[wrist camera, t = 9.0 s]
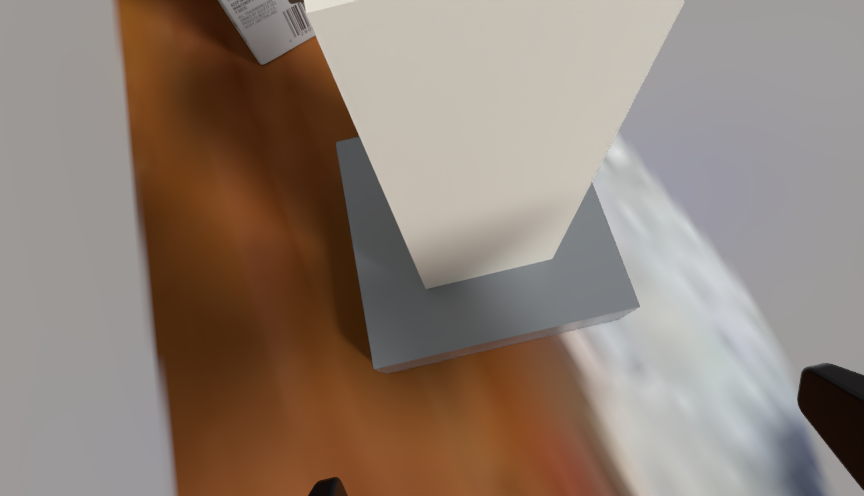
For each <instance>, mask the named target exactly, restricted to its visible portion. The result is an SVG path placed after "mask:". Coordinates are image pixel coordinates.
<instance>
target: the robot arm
mask: <svg viewBox="0 0 864 496" xmlns="http://www.w3.org/2000/svg"><path fill="white" fill-rule="evenodd" d="M797 401H798V405H799V408H800V410H801V412H802V413H803V415H804V416H805V417H806V418H807V420H808V421H809V422H810V424H811V425H812V426H813V427H814V429H815V430H816V431H817V432H818V434H819V435H820V436H821V438H822V439H823V440H824V441H825V443H826V444H827V445H828V446H829V448H830V449H831V450H832V452H833V453H834V454H835V455H836V457H837V458H838V459H839V460H840V462H841V463H842V464H843V465H844V467H845V468H846V469H847V471H848V472H849V473H850V474H851V476H852V477H853V478H854V479H855V481H856V482H857V483H858V484H859V485H860V487H861V488H862V489H863V490H864V375H862V374H859V373H856V372H853V371H850V370H847V369H844V368H842V367H839V366H836V365H833V364H829V363H823V364H818V365H814V366H809V367H806V368H804V369H803V371H802V373H801V378H800V384H799V390H798V397H797ZM308 496H348V495H347V493H346V491H345V489H344V486H343V484H342V482H341V480H340V479H339V478H338V477H333V478H329V479H324V480H320V481H318V482H317V483H316V484H315V485H314V487H313V489H312V490H311V492H310V493H309V495H308Z"/></svg>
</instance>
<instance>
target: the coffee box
mask: <svg viewBox="0 0 864 496" xmlns="http://www.w3.org/2000/svg"><path fill="white" fill-rule="evenodd" d="M217 1H218V2H219V4H220V5H221V7H222V8H223V10H224V11H225V13H226V14H227V16H228V17H229V19H230V20H231V22H232V23H233V25H234V26H235V28H236V29H237V31H238V32H239V34H240V35H241V37H242V38H243V40H244V41H245V43H246V44H247V46H248V47H249V49H250V50H251V52H252V53H253V55H254V56H255V58H256V59H257V61H258V62H259V63H260V64H261V65H264V64H266V63H268V62H270V61H272V60H274V59H275V58H277V57H279V56H281V55H282V54H284V53H286V52H287V51H289V50H291V49H293V48H294V47H296V46H298V45H299V44H301V43H303V42H305V41H306V40H308V39H310V38H312V37H313V36H315V33H314V30H313V28H312V26H311V24H310V21H309V19H308V17H307V14H306V10H305V4H304V0H217Z"/></svg>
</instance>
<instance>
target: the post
mask: <svg viewBox="0 0 864 496" xmlns="http://www.w3.org/2000/svg"><path fill="white" fill-rule="evenodd" d="M684 2H685V0H304V4H305V10H306V14H307V17H308V19H309V21H310V24H311V26H312V28H313V30H314V33H315V35H316V37H317V40H318V42H319V44H320V47H321V49H322V51H323V54H324V56H325V58H326V60H327V63H328V65H329V67H330V70H331V72H332V74H333V77H334V79H335V81H336V84H337V86H338V88H339V90H340V93H341V95H342V97H343V100H344V102H345V104H346V107H347V109H348V111H349V113H350V116H351V118H352V120H353V123H354V125H355V127H356V130H357V132H358V134H359V137H360V139H361V141H362V143H363V146H364V148H365V150H366V153H367V155H368V157H369V160H370V162H371V164H372V166H373V169H374V171H375V173H376V176H377V178H378V180H379V183H380V185H381V187H382V190H383V192H384V194H385V196H386V199H387V201H388V203H389V206H390V208H391V210H392V213H393V215H394V217H395V220H396V222H397V224H398V226H399V229H400V231H401V233H402V236H403V238H404V240H405V243H406V245H407V247H408V249H409V252H410V254H411V256H412V259H413V261H414V263H415V266H416V268H417V270H418V273H419V275H420V277H421V279H422V282H423V284H424V286H425V289H429V288H433V287H437V286H441V285H445V284H450V283H454V282H458V281H462V280H466V279H471V278H475V277H479V276H483V275H487V274H491V273H496V272H500V271H504V270H508V269H512V268H517V267H521V266H525V265H529V264H533V263H538V262H542V261H546V260H550V259H552V258H553V257H554V255H555V253H556V251H557V249H558V247H559V245H560V243H561V241H562V239H563V237H564V235H565V233H566V231H567V229H568V227H569V225H570V224H571V222H572V220H573V218H574V216H575V214H576V212H577V210H578V208H579V206H580V204H581V202H582V200H583V198H584V196H585V194H586V192H587V190H588V189H589V187H590V185H591V183H592V181H593V179H594V177H595V175H596V173H597V171H598V169H599V167H600V165H601V163H602V161H603V159H604V157H605V156H606V154H607V152H608V150H609V148H610V146H611V144H612V142H613V140H614V138H615V136H616V134H617V132H618V130H619V128H620V126H621V124H622V122H623V120H624V119H625V117H626V115H627V113H628V111H629V109H630V107H631V105H632V103H633V101H634V99H635V97H636V95H637V93H638V91H639V89H640V87H641V85H642V84H643V81H644V80H645V78H646V76H647V74H648V72H649V70H650V68H651V66H652V64H653V62H654V60H655V58H656V56H657V54H658V53H659V51H660V49H661V47H662V45H663V42H664V41H665V39H666V37H667V35H668V33H669V31H670V29H671V27H672V25H673V23H674V21H675V19H676V18H677V16H678V14H679V12H680V9H681V8H682V6H683V4H684Z"/></svg>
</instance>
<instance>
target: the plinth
mask: <svg viewBox="0 0 864 496" xmlns="http://www.w3.org/2000/svg"><path fill="white" fill-rule="evenodd" d="M336 148H337V154H338V160H339V166H340V172H341V177H342V183H343V189H344V195H345V201H346V207H347V213H348V219H349V225H350V231H351V237H352V243H353V249H354V255H355V261H356V267H357V273H358V279H359V285H360V291H361V297H362V303H363V308H364V314H365V320H366V326H367V332H368V338H369V344H370V350H371V356H372V362H373V368H374V370H377V371H380V372H382V373H385V374H388V373H393V372H397V371H401V370H406V369H410V368H414V367H418V366H423V365H427V364H431V363H435V362H440V361H444V360H448V359H452V358H457V357H461V356H465V355H469V354H474V353H478V352H482V351H486V350H491V349H495V348H499V347H503V346H508V345H512V344H516V343H520V342H525V341H529V340H533V339H537V338H542V337H546V336H550V335H554V334H559V333H563V332H567V331H572V330H576V329H580V328H584V327H589V326H593V325H597V324H601V323H606V322H610V321H614V320H618V319H621V318H622V317H624V316H626V315H627V314H629V313H631V312H632V311H634V310H636V309H637V308H639V307H640V305H639V302H638V300H637V297H636V295H635V292H634V290H633V287H632V284H631V282H630V279H629V277H628V274H627V271H626V269H625V266H624V264H623V261H622V259H621V256H620V253H619V251H618V248H617V246H616V243H615V240H614V238H613V235H612V233H611V230H610V227H609V225H608V222H607V220H606V217H605V215H604V212H603V209H602V207H601V204H600V202H599V199H598V196H597V194H596V191H595V189H594V186H593V184H592V183H591V185H590V187H589V189H588V190H587V192H586V194H585V196H584V198H583V200H582V202H581V204H580V206H579V208H578V210H577V212H576V214H575V216H574V218H573V220H572V222H571V224H570V225H569V227H568V229H567V231H566V233H565V235H564V237H563V239H562V241H561V243H560V245H559V247H558V249H557V251H556V253H555V255H554V257H553V258H552V259H550V260H546V261H542V262H538V263H533V264H529V265H525V266H521V267H517V268H512V269H508V270H504V271H500V272H496V273H491V274H487V275H483V276H479V277H475V278H471V279H466V280H462V281H458V282H454V283H450V284H445V285H441V286H437V287H433V288H429V289H425V286H424V284H423V282H422V279H421V277H420V275H419V273H418V270H417V268H416V266H415V263H414V261H413V259H412V256H411V254H410V252H409V249H408V247H407V245H406V243H405V240H404V238H403V236H402V233H401V231H400V229H399V226H398V224H397V222H396V220H395V217H394V215H393V213H392V210H391V208H390V206H389V203H388V201H387V199H386V196H385V194H384V192H383V190H382V187H381V185H380V183H379V180H378V178H377V176H376V173H375V171H374V169H373V166H372V164H371V162H370V160H369V157H368V155H367V153H366V150H365V148H364V146H363V143H362V141H361V139H360V137H355V138H351V139H347V140H343V141H339V142H336Z"/></svg>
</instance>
